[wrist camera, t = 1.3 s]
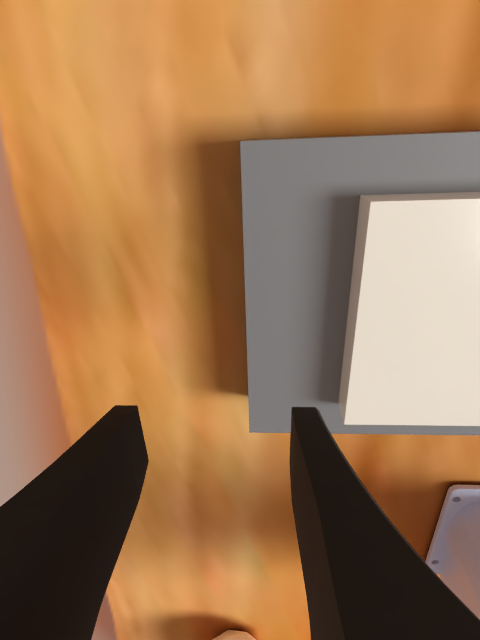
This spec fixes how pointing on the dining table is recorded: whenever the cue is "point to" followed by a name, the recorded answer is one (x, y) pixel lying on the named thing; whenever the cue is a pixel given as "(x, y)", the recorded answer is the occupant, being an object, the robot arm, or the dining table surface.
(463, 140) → the block
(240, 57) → the dining table surface
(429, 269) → the tile
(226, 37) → the dining table surface
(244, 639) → the geometric ball
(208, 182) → the dining table surface
